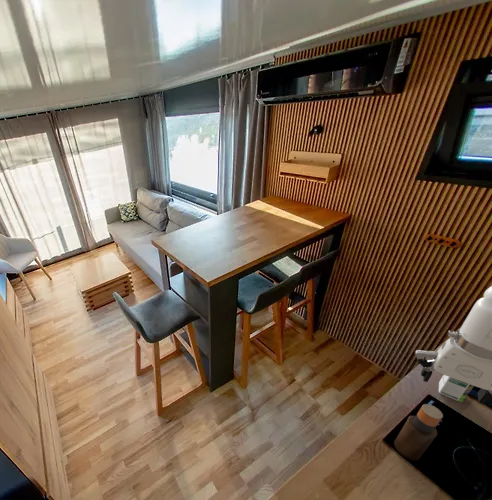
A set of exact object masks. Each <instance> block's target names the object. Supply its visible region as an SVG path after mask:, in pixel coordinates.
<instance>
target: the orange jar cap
mask: <svg viewBox="0 0 492 500" xmlns="http://www.w3.org/2000/svg"><path fill="white" fill-rule="evenodd" d="M416 415H417V416H418V418H419V419H420V420H421V421H422V422H423V423H425V424H427V425H429V426H436V425H437V426H438V424H439V423H440V422H441V420H442V419H443V418H444V414H443V413H442V411H441V410H440V409H439V408H437V407H436V406H435V405H433V404H429V403H424V404H422V406H421V407H420V408H419V410H418V412H417V413H416ZM437 426H436V427H437Z"/></svg>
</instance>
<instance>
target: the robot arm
mask: <svg viewBox="0 0 492 500" xmlns="http://www.w3.org/2000/svg"><path fill="white" fill-rule="evenodd" d="M446 335H447V336H448V337H449V338H448V339H447V340H446V341H445V342H443V344H442V345H440V347H439V348H438V349H437V350H436V351H434V350H433V351H431V350H419V349H416V350H415V351H414V355H415V357H416V359H417V363H418V364H420V366H421V367H422V369H421V371H420V376H421V377H423V378H422V380H423V382H424V383H428V382H429V381H430V378H431V377H432V375H433V372H437V373H439V374H441V375H442V376H443V375H446V376H448V377H451V378H454V379H457V380H459V381H462V382H465V383H468V384H471V385H473V386H474V387H476V388H480V389H479V390H478V392H477V399H478V403H479V404H482V405H484V404H485V403H486V402H487V401H488V402H490V401H491V400H492V285H491V286H489V287H488V288H487V289H485V291H484V292H483V297H481V298H478V299H477V300H476V301H475V303H474V304H473V306H472V308H471V309H470V312H469V313H468V315H467V316H466V318H465V320H464V321H463V323H462V325H461V326H460V328H458V329H457V330H455V331H452V330H447V332H446ZM426 358H428V359H426Z"/></svg>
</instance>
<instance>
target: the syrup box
mask: <svg viewBox="0 0 492 500" xmlns="http://www.w3.org/2000/svg"><path fill="white" fill-rule="evenodd" d="M474 387H475V386H473V385H471V384H468V383H465V382H462V381H459V380H457V379H454V378H451V377H448V376H446V375H443V374H442V377H441V378H440V380H439V382H438V394H440V395H443V396H444V397H447V398H450V399H452V400H454V401H457V402H459V403H463V402H464V400H465V399H466V398H467V396H468V395H469V394H470V392H471V391H472V389H473V388H474Z"/></svg>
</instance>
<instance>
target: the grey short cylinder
mask: <svg viewBox="0 0 492 500" xmlns="http://www.w3.org/2000/svg"><path fill="white" fill-rule="evenodd" d="M415 416H416V417H415V419H414V420H413V424H414V426H415V427H416V428H417V429H418V430H420V431H421V432H424V433H427V434H430V433H432V431H433V430H434V429H436V427H437V426H438V424H437V425H436V426H429V425H427V424H425V423H423V422H422V421H421V420H420V419H419V418H418V416H417V414H416V415H415Z"/></svg>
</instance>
